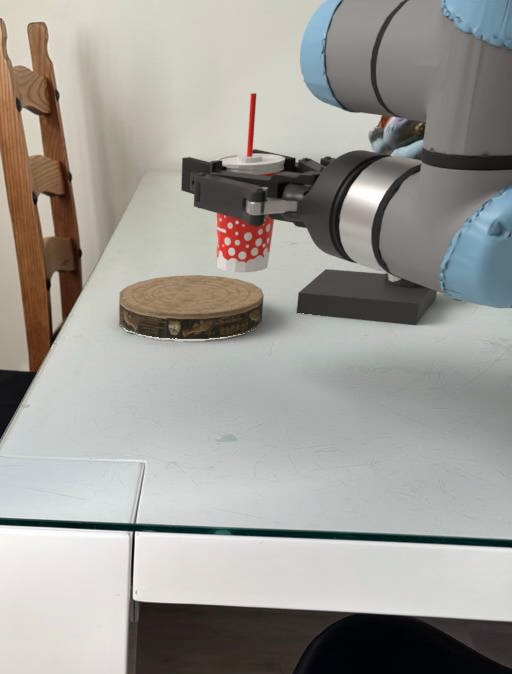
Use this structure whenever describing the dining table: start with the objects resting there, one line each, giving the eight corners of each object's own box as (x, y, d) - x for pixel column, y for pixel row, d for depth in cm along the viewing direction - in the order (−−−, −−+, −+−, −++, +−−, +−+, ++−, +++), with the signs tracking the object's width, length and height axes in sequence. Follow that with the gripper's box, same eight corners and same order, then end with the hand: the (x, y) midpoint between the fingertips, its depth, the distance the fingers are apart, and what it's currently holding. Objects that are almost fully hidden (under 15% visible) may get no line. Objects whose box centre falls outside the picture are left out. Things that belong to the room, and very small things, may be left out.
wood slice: (130, 299, 121) (130, 274, 119) (264, 302, 117) (267, 276, 115) (107, 340, 108) (107, 312, 106) (257, 344, 104) (259, 315, 103)
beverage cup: (220, 256, 95) (229, 89, 87) (284, 260, 93) (299, 89, 85) (199, 272, 91) (207, 98, 83) (266, 276, 88) (280, 97, 81)
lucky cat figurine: (381, 185, 172) (365, 102, 171) (378, 202, 184) (363, 124, 182) (473, 155, 168) (458, 70, 166) (464, 175, 179) (450, 95, 178)
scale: (441, 297, 116) (447, 261, 113) (419, 326, 107) (426, 288, 105) (325, 287, 121) (329, 253, 119) (296, 314, 113) (299, 277, 111)
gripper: (260, 282, 73) (124, 226, 91) (472, 248, 78) (303, 201, 96) (269, 170, 69) (124, 134, 87) (492, 142, 74) (312, 114, 92)
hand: (218, 169), depth 92 cm, fingers closed on beverage cup, 6 cm apart
